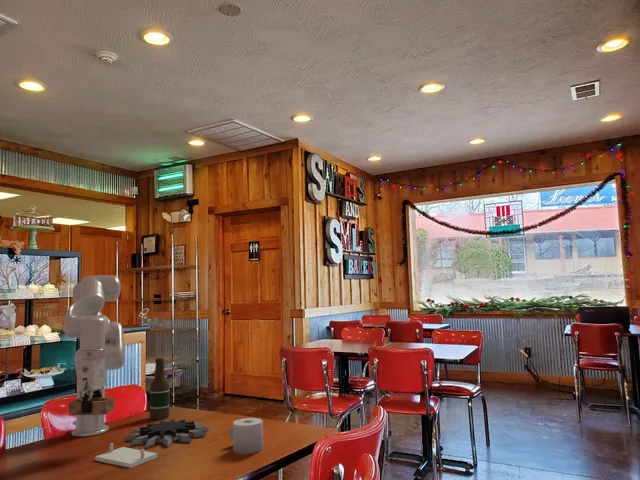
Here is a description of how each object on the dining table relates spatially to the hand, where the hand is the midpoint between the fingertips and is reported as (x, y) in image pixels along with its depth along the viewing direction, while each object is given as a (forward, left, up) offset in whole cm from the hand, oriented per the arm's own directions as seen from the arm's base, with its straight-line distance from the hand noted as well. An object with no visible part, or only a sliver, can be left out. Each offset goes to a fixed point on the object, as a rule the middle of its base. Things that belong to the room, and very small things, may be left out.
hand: (91, 409), depth 163 cm
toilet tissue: (+46, +23, -14) cm, 53 cm away
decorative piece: (+11, +23, -14) cm, 29 cm away
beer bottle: (-13, +41, -14) cm, 45 cm away
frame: (0, 0, -1) cm, 1 cm away
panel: (+18, 0, -13) cm, 22 cm away
